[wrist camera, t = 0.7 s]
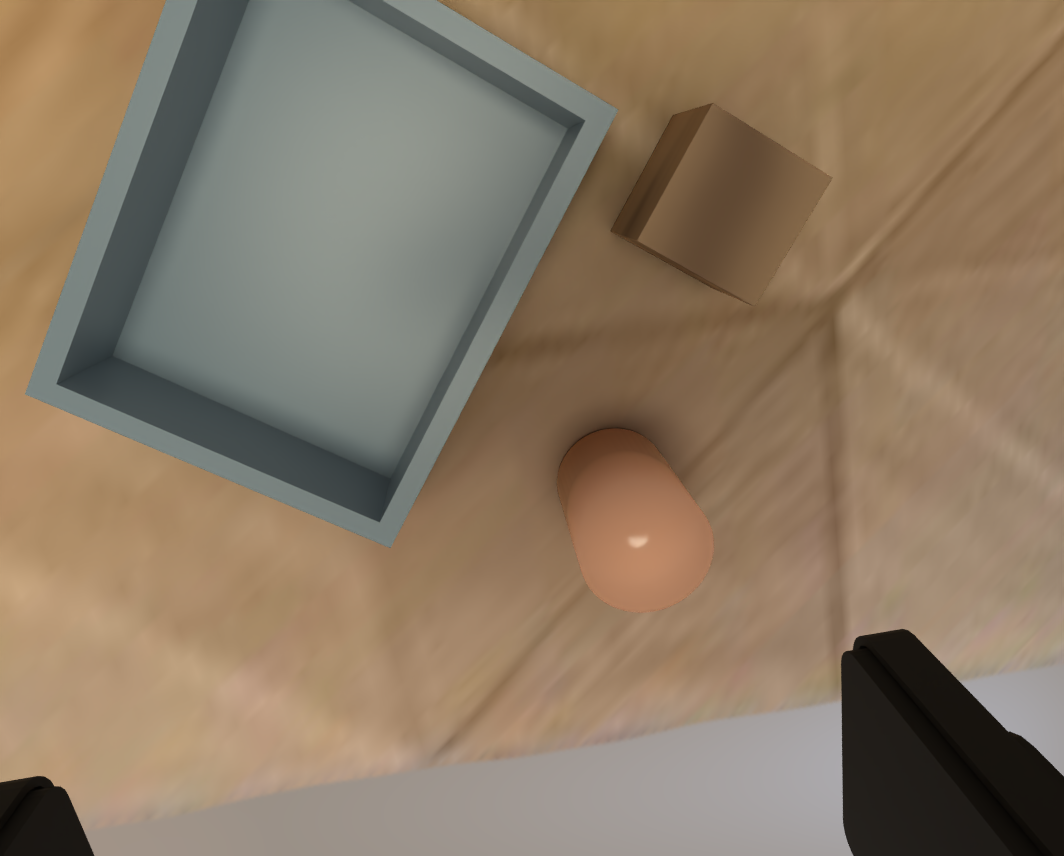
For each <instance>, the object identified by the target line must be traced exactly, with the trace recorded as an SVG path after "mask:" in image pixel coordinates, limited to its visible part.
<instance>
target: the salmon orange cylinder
mask: <svg viewBox="0 0 1064 856" xmlns="http://www.w3.org/2000/svg"><path fill="white" fill-rule="evenodd" d="M557 489H558V494H559V498H560V502H561V505H562V508H563V512H564V515H565V518H566V522H567V525H568V528H569V532H570V535H571V538H572V541H573V545H574V548H575V551H576V555H577V558H578V561H579V565H580V568H581V571H582V574H583V577H584V579H585V581H586V583H587V585H588V586H589V588H590V589H591V590H592V592H593V593H594V594H595V595H596V596H597V597H598V598H599V599H601V600H602V601H604V602H605V603H607V604H609V605H611V606H612V607H615V608H618V609H620V610H624V611H629V612H652V611H657V610H661V609H665V608H667V607H670V606H672V605H674V604H676V603H678V602H680V601H681V600H683V599H684V598H686V597H687V596H688V595H690V594H691V593H692V592H693V591H694V590H695V589H696V588H697V587H698V586H699V585H700V583H701V582H702V581H703V579H704V578H705V576H706V574H707V572H708V570H709V568H710V565H711V562H712V558H713V553H714V538H713V532H712V529H711V526H710V524H709V522H708V520H707V518H706V516H705V515H704V513H703V512H702V511H701V509H700V508H699V506H698V505H697V504H696V502H695V501H694V499H693V498H692V497H691V495H690V494H689V493H688V491H687V490H686V488H685V487H684V486H683V484H682V483H681V481H680V480H679V479H678V477H677V476H676V474H675V473H674V472H673V470H672V469H671V467H670V466H669V465H668V463H667V462H666V461H665V459H664V458H663V456H662V455H661V454H660V452H659V451H658V449H657V448H656V447H655V446H654V445H653V443H652V442H651V441H649V440H648V439H647V438H646V437H644V436H642V435H640V434H638V433H636V432H634V431H630V430H626V429H615V428H612V429H604V430H600V431H596V432H594V433H591V434H589V435H587V436H585V437H584V438H582V439H581V440H579V441H578V442H577V443H576V444H575V445H574V446H572V448H571V449H570V450H569V451H568V452H567V454H566V455H565V457H564V459H563V461H562V463H561V465H560V468H559V471H558V477H557Z"/></svg>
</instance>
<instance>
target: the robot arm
mask: <svg viewBox="0 0 1064 856" xmlns="http://www.w3.org/2000/svg"><path fill="white" fill-rule="evenodd" d="M841 682H842V767H843V824H844V830H845V835H846V838H847V841H848V844H849V846H850V849H851V851H852V853H853V855H854V856H1064V776H1063V775H1062V774H1061V773H1060V772H1059V771H1058V770H1057V769H1055V768H1054V766H1053V765H1052V764H1051V763H1050V762H1049V761H1048V760H1047V759H1046V758H1045V757H1044V756H1042V754H1041V753H1040V752H1039V751H1038V750H1037V749H1036V748H1035V747H1034V746H1032V745H1031V744H1030V743H1029V742H1028V741H1026V740H1025V739H1024V738H1023V737H1022V736H1019V735H1017V734H1015V733H1012V732H1008V731H1007V730H1006V729H1005V728H1004V727H1003V726H1002V725H1001V724H1000V723H999V722H998V721H997V720H996V719H995V718H994V717H993V716H992V715H991V714H990V713H989V712H988V711H987V710H986V708H985V707H984V706H983V705H982V704H981V703H980V702H979V701H978V700H977V699H976V698H975V697H974V696H973V695H972V694H971V693H970V692H969V691H968V690H967V689H966V688H965V687H964V686H963V685H962V684H961V683H960V682H959V681H958V680H957V679H956V678H955V677H954V676H953V675H952V674H951V672H950V671H949V670H948V669H947V668H946V667H945V666H944V665H943V664H942V663H941V662H940V661H939V660H938V659H937V658H936V657H935V656H934V655H933V654H932V653H931V652H930V651H929V650H928V649H927V648H926V647H925V646H924V645H923V644H922V643H921V642H920V641H919V640H918V639H917V638H916V636H915V635H913V634H912V633H911V632H910V631H908V630H905V629H900V630H894V631H888V632H882V633H876V634H870V635H864V636H859V637H858V638H856V640H855V642H854V646H853V650H851V651H846V652H844V653H843V655H842V660H841ZM0 856H94V854H93V852H92V849H91V847H90V844H89V842H88V840H87V838H86V835H85V833H84V830H83V828H82V826H81V824H80V821H79V819H78V817H77V814H76V812H75V810H74V807H73V805H72V803H71V800H70V798H69V796H68V794H67V792H66V791H65V789H63V788H62V787H57V786H55V787H54V785H53V783H52V782H51V780H49V779H48V778H46V777H43V776H36V777H30V778H24V779H18V780H12V781H7V782H1V783H0Z"/></svg>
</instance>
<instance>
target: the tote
mask: <svg viewBox="0 0 1064 856" xmlns="http://www.w3.org/2000/svg"><path fill="white" fill-rule="evenodd" d="M617 112H618V109H616V108H615V107H613V106H611V105H610V104H608V103H606V102H605V101H603V100H601V99H600V98H598V97H596V96H595V95H593V94H591V93H590V92H588V91H586V90H585V89H583V88H581V87H580V86H578V85H576V84H575V83H573V82H571V81H570V80H568V79H566V78H565V77H563V76H561V75H560V74H558V73H556V72H555V71H553V70H551V69H550V68H548V67H546V66H545V65H543V64H541V63H540V62H538V61H536V60H535V59H533V58H531V57H530V56H528V55H526V54H525V53H523V52H522V51H520V50H518V49H517V48H515V47H513V46H512V45H510V44H508V43H507V42H505V41H503V40H502V39H500V38H498V37H497V36H495V35H493V34H492V33H490V32H488V31H487V30H485V29H483V28H482V27H480V26H478V25H477V24H475V23H473V22H472V21H470V20H468V19H467V18H465V17H463V16H462V15H460V14H458V13H457V12H455V11H453V10H452V9H450V8H448V7H447V6H445V5H443V4H442V3H440V2H438V1H437V0H166V2H165V5H164V8H163V11H162V14H161V16H160V19H159V22H158V25H157V28H156V30H155V33H154V36H153V39H152V41H151V44H150V47H149V50H148V53H147V55H146V58H145V61H144V64H143V67H142V69H141V72H140V75H139V78H138V81H137V83H136V86H135V89H134V92H133V94H132V97H131V100H130V103H129V106H128V108H127V111H126V114H125V117H124V120H123V122H122V125H121V128H120V131H119V134H118V136H117V139H116V142H115V145H114V147H113V150H112V153H111V156H110V159H109V161H108V164H107V167H106V170H105V173H104V175H103V178H102V181H101V184H100V187H99V189H98V192H97V195H96V198H95V200H94V203H93V206H92V209H91V212H90V214H89V217H88V220H87V223H86V226H85V228H84V231H83V234H82V237H81V240H80V242H79V245H78V248H77V251H76V253H75V256H74V259H73V262H72V265H71V267H70V270H69V273H68V276H67V279H66V281H65V284H64V287H63V290H62V293H61V295H60V298H59V301H58V304H57V306H56V309H55V312H54V315H53V318H52V320H51V323H50V326H49V329H48V332H47V334H46V337H45V340H44V343H43V346H42V348H41V351H40V354H39V357H38V359H37V362H36V365H35V368H34V371H33V373H32V376H31V379H30V382H29V385H28V387H27V390H26V393H25V394H26V395H28V396H30V397H33V398H35V399H38V400H40V401H42V402H45V403H47V404H49V405H52V406H54V407H57V408H59V409H61V410H64V411H66V412H68V413H71V414H73V415H76V416H78V417H80V418H83V419H85V420H87V421H90V422H92V423H95V424H97V425H99V426H102V427H104V428H106V429H109V430H111V431H114V432H116V433H118V434H121V435H123V436H125V437H128V438H130V439H133V440H135V441H137V442H140V443H142V444H144V445H147V446H149V447H152V448H154V449H156V450H159V451H161V452H163V453H166V454H168V455H171V456H173V457H175V458H178V459H180V460H182V461H185V462H187V463H190V464H192V465H194V466H197V467H199V468H201V469H204V470H206V471H209V472H211V473H213V474H216V475H218V476H220V477H223V478H225V479H228V480H230V481H232V482H235V483H237V484H239V485H242V486H244V487H246V488H249V489H251V490H254V491H256V492H258V493H261V494H263V495H265V496H268V497H270V498H273V499H275V500H277V501H280V502H282V503H284V504H287V505H289V506H292V507H294V508H296V509H299V510H301V511H303V512H306V513H308V514H311V515H313V516H315V517H318V518H320V519H322V520H325V521H327V522H330V523H332V524H334V525H337V526H339V527H341V528H344V529H346V530H349V531H351V532H353V533H356V534H358V535H360V536H363V537H365V538H368V539H370V540H372V541H375V542H377V543H379V544H382V545H384V546H387V547H389V548H391V546H392V544H393V542H394V540H395V538H396V536H397V534H398V532H399V531H400V529H401V527H402V525H403V523H404V521H405V519H406V517H407V515H408V513H409V511H410V509H411V507H412V506H413V504H414V502H415V500H416V498H417V496H418V494H419V492H420V490H421V488H422V486H423V484H424V482H425V481H426V479H427V477H428V475H429V473H430V471H431V469H432V467H433V465H434V463H435V461H436V459H437V458H438V456H439V454H440V452H441V450H442V448H443V446H444V444H445V442H446V440H447V438H448V436H449V434H450V433H451V431H452V429H453V427H454V425H455V423H456V421H457V419H458V417H459V415H460V413H461V411H462V409H463V408H464V406H465V404H466V402H467V400H468V398H469V396H470V394H471V392H472V390H473V388H474V386H475V384H476V383H477V381H478V379H479V377H480V375H481V373H482V371H483V369H484V367H485V365H486V363H487V361H488V359H489V358H490V356H491V354H492V352H493V350H494V348H495V346H496V344H497V342H498V340H499V338H500V336H501V335H502V333H503V331H504V329H505V327H506V325H507V323H508V321H509V319H510V317H511V315H512V313H513V311H514V310H515V308H516V306H517V304H518V302H519V300H520V298H521V296H522V294H523V292H524V290H525V288H526V286H527V285H528V283H529V281H530V279H531V277H532V275H533V273H534V271H535V269H536V267H537V265H538V263H539V261H540V260H541V258H542V256H543V254H544V252H545V250H546V248H547V246H548V244H549V242H550V240H551V238H552V236H553V235H554V233H555V231H556V229H557V227H558V225H559V223H560V221H561V219H562V217H563V215H564V213H565V212H566V210H567V208H568V206H569V204H570V202H571V200H572V198H573V196H574V194H575V192H576V190H577V188H578V187H579V185H580V183H581V181H582V179H583V177H584V175H585V173H586V171H587V169H588V167H589V165H590V163H591V162H592V160H593V158H594V156H595V154H596V152H597V150H598V148H599V146H600V144H601V142H602V140H603V138H604V137H605V135H606V133H607V131H608V129H609V127H610V125H611V123H612V121H613V119H614V117H615V115H616V114H617Z"/></svg>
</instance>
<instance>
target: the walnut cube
mask: <svg viewBox="0 0 1064 856" xmlns="http://www.w3.org/2000/svg"><path fill="white" fill-rule="evenodd" d="M831 180H832V177H831V176H829V175H827V174H826V173H824V172H823V171H821V170H819V169H818V168H816V167H815V166H813V165H811V164H810V163H808V162H807V161H805V160H803V159H802V158H800V157H799V156H797V155H795V154H794V153H792V152H790V151H789V150H787V149H786V148H784V147H782V146H781V145H779V144H778V143H776V142H774V141H773V140H771V139H770V138H768V137H766V136H765V135H763V134H762V133H760V132H758V131H757V130H755V129H754V128H752V127H750V126H749V125H747V124H746V123H744V122H742V121H741V120H739V119H738V118H736V117H734V116H733V115H731V114H729V113H728V112H726V111H725V110H723V109H721V108H720V107H718V106H717V105H715V104H713V103H712V104H708V105H705V106H702V107H698V108H695V109H692V110H689V111H685V112H682V113H679V114H675V115H673V117H672V118H671V120H670V122H669V124H668V126H667V128H666V130H665V131H664V133H663V135H662V137H661V139H660V141H659V143H658V144H657V146H656V148H655V150H654V152H653V154H652V156H651V157H650V159H649V161H648V163H647V165H646V167H645V168H644V170H643V172H642V174H641V176H640V178H639V180H638V181H637V183H636V185H635V187H634V189H633V191H632V193H631V194H630V196H629V198H628V200H627V202H626V204H625V206H624V207H623V209H622V211H621V213H620V215H619V217H618V219H617V220H616V222H615V224H614V226H613V228H612V230H611V232H613V233H615V234H616V235H618V236H620V237H622V238H624V239H625V240H627V241H629V242H631V243H633V244H634V245H636V246H638V247H640V248H642V249H643V250H645V251H647V252H649V253H650V254H652V255H654V256H656V257H658V258H659V259H661V260H663V261H665V262H667V263H668V264H670V265H672V266H674V267H676V268H677V269H679V270H681V271H683V272H684V273H686V274H688V275H690V276H692V277H693V278H695V279H697V280H699V281H701V282H702V283H704V284H706V285H708V286H710V287H711V288H713V289H716V290H718V291H720V292H723V293H725V294H727V295H729V296H732V297H734V298H736V299H739V300H741V301H743V302H745V303H748V304H750V305H752V306H756V304H757V302H758V301H759V299H760V297H761V296H762V294H763V292H764V291H765V289H766V287H767V286H768V284H769V282H770V281H771V279H772V278H773V276H774V274H775V273H776V271H777V269H778V268H779V266H780V264H781V263H782V261H783V259H784V258H785V256H786V254H787V253H788V251H789V249H790V248H791V246H792V244H793V243H794V241H795V239H796V238H797V236H798V234H799V233H800V231H801V230H802V228H803V226H804V225H805V223H806V221H807V220H808V218H809V216H810V215H811V213H812V211H813V210H814V208H815V206H816V205H817V203H818V201H819V200H820V198H821V196H822V195H823V193H824V191H825V190H826V188H827V186H828V185H829V183H830V182H831Z"/></svg>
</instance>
